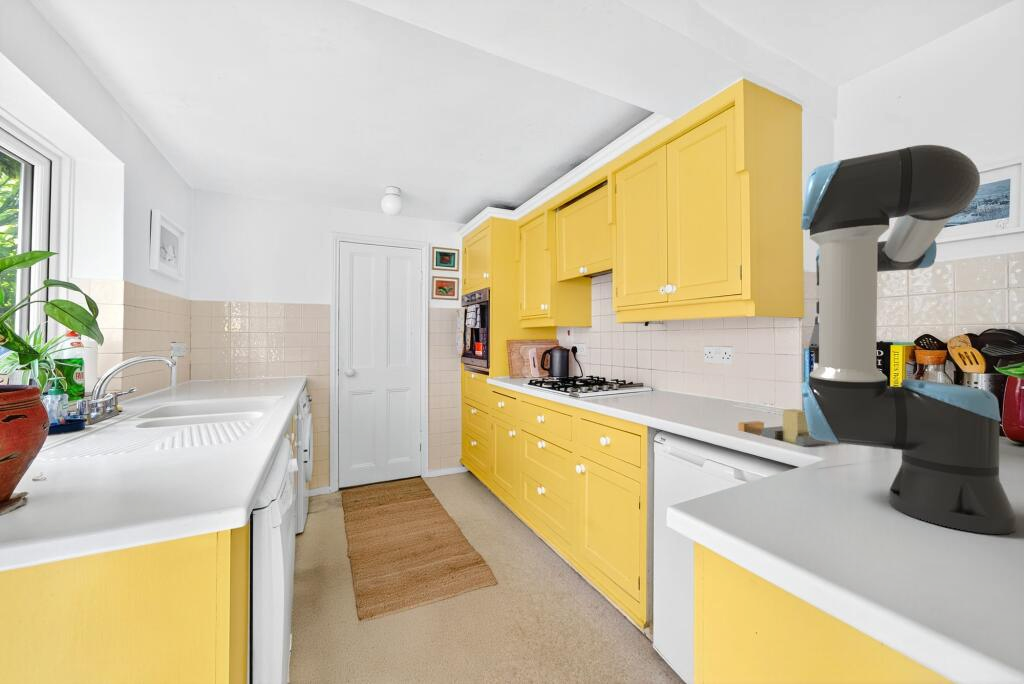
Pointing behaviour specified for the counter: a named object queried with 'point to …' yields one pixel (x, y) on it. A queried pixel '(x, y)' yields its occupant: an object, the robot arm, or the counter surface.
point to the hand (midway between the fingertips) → (832, 373)
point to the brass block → (794, 424)
